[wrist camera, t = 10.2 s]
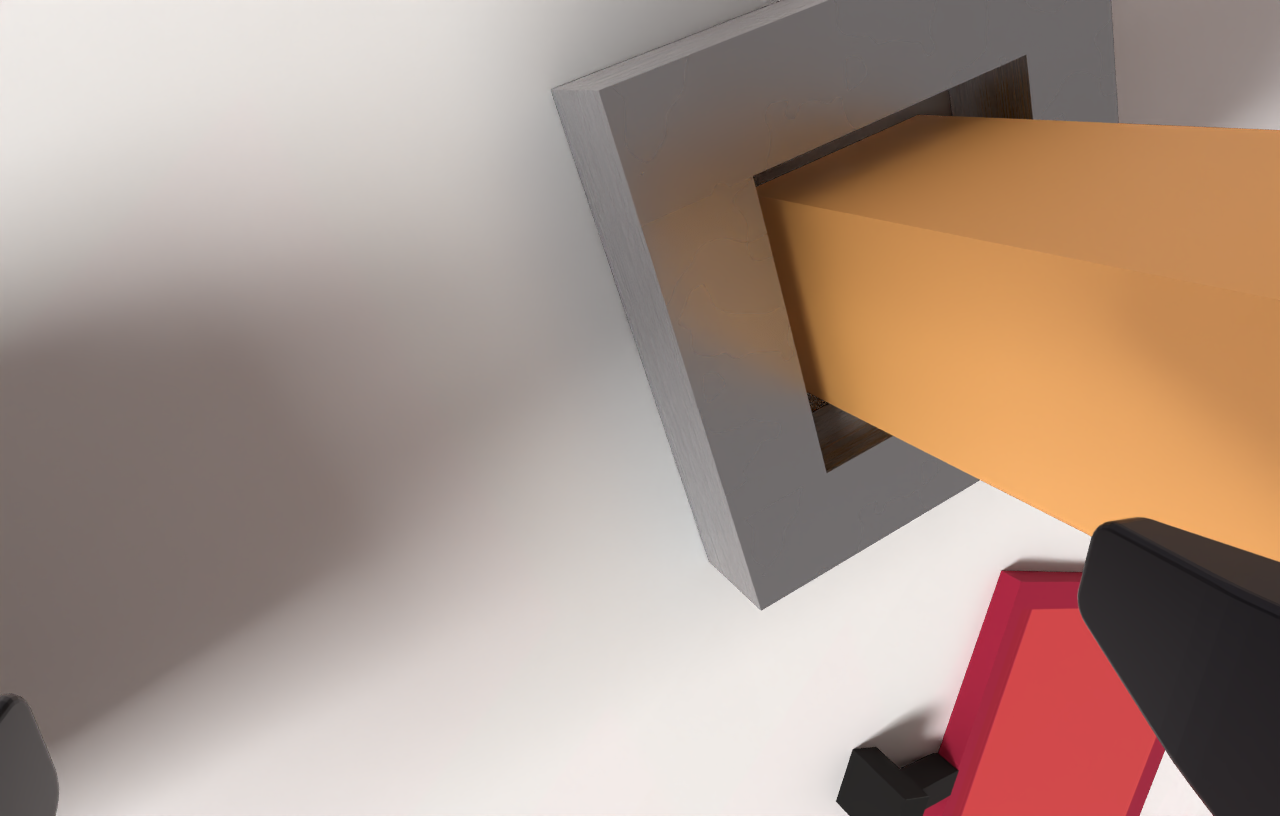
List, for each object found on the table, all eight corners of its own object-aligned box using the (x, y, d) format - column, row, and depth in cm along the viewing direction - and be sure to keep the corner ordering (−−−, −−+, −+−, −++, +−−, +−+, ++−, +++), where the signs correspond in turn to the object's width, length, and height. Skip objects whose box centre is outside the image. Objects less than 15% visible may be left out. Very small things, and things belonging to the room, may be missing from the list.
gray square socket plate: (709, 561, 23) (761, 610, 21) (550, 90, 18) (598, 90, 16) (1059, 363, 26) (1134, 387, 24) (1011, -90, 21) (1104, -109, 19)
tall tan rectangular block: (792, 384, 23) (1285, 634, 12) (743, 192, 20) (1294, 302, 10) (948, 303, 24) (1511, 468, 14) (918, 114, 22) (1562, 142, 11)
